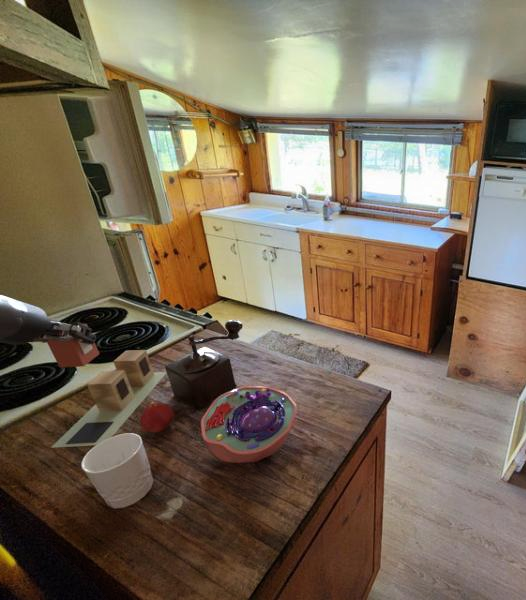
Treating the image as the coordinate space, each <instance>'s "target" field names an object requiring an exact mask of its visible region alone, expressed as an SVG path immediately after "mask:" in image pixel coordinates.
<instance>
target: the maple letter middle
mask: <svg viewBox="0 0 526 600" xmlns="http://www.w3.org/2000/svg"><path fill="white" fill-rule="evenodd" d="M86 387H87V388H88V390H89V391H88V392H89V393H90V394H91V397H92V399H93V401H94V403H95V404H96V406H97V408H98V410H99V412H109V411H122V410H123V409H124V408H125V407H126V406H127V405H128V404H129V403H130V401H131V400H132V399H133V398H134V397H135V396H134V394H133V391H132V388H131V386H130V383H129V381H128V378H127V376H126V373H125V371H124V370H123V371H117V370H101V372H99V373H98V374H97V375H96V376H94V377H93V378H92V379H91V380H90V381H89V382H88V383H87V384H86Z"/></svg>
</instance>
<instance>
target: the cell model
mask: <svg viewBox="0 0 526 600" xmlns="http://www.w3.org/2000/svg"><path fill="white" fill-rule="evenodd" d="M208 407H209V408H207V410H206V412H205V413H204V415H203V416H202V418H201V420H200V427H201V435H202V441H203V444H204V446H205V447H206V448H207V450H208V451H209V452H210V453H211V454H212V455H213V456H214V457H216V458H217V459H218V460H220V461H221V462H223V463H229V464H231V463H233V464H237V463H238V464H244V463H247V464H248V463H256V462H258V461H261V460H263V459H265V458H268V457H270V456H272V455H274V454H275V453H277V452H278V450H279V449H280V448H281V447H283V445H284V444H285V443H286V441H287V440H288V438H289V435H290V433H291V430H292V428H293V426H294V423H295V419H296V416H297V413H298V405H297V403H296V402H295V401H294V400H293V399H292V398H291V396H290V395H289V394H287V392H284V391H282V390H280V389H278V388H274V387H270V386H261V385H258V386H257V385H245V386H241V387H238V388H234V389H233V390H232V391H230V392H227V393H225V394H223V395H221V396H219V397H218V398H217V399H216V400H215V401H214V402H213V403H212V404H211V405H209V406H208Z"/></svg>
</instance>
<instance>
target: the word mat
mask: <svg viewBox="0 0 526 600" xmlns="http://www.w3.org/2000/svg"><path fill="white" fill-rule="evenodd" d="M153 372H154V376H153V377H152V378H151V379H150V380H149V381H148V383H147V384H146V385H145V386H144V387H131V388H132V391H133V394H134V396H135V397H134V398H133V399H132V400H131V401H130V403H129V404H128V405H127V406H126V407H125V408H124V409H123V410H122V411H109V412H99V410H98V408H97V406H96V403H95V404H94V405H93V406H92V407H91V408H90V409H89V410H88V411H87V412H86V413H84V415H83V416H82V417H81V418H80V419H78V421H77V422H75V423H74V425H73V426H71V427H70V428H69V429H68V431H66V432H65V433H64V434H63V435H62V436H61V437H60V438H59V439H58V440H57V441H56V442H55V443H54V444H53V445H52V446H51V447H50V448H51V449H54V448H71V447H72V448H73V447H88V446H89V447H91V446H93V447H94V446H96V445H97V444H99V443H101V442H102V441H104V440H106V439H108V438H111V437H113V436H115V434H116V433H117V432H118V431H119V429H120V428H121V427H122V426H123V425H124V424H125V422H126V421H127V420H128V419H129V418H130V416H131V415H132V414H133V413H134V412H135V410H136V409H137V408H138V407H139V406H140V405H141V403H142V402H143V401H145V399H146V398H147V397H148V396H149V394H150V393H151V392H152V391H153V390H154V389H155V387H156V386H157V385H158V384H159V383H160V382H161V380H162V379H163V378H164V377H165V375H167V371H156V372H155V371H153Z"/></svg>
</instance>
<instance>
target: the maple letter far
mask: <svg viewBox="0 0 526 600" xmlns="http://www.w3.org/2000/svg"><path fill="white" fill-rule="evenodd" d="M112 362H113V365H114V367H115V369H116V371H123V370H124V371H125V373H126V376H127V378H128V381H129V383H130V386H131V387H144V386H145V385H146V384H147V383H148V381H149V380H150V379H151V378H152V377H153V376H154V372H155V371H154V369H153V366H152V363H151V360H150V358H149V355H148V352H147V350H146V349H134V350H131V349H129V350H124V352H123V353H121V354H120V355H119V356H118V357H117V358H116V359H114V360H113V361H112Z"/></svg>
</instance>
